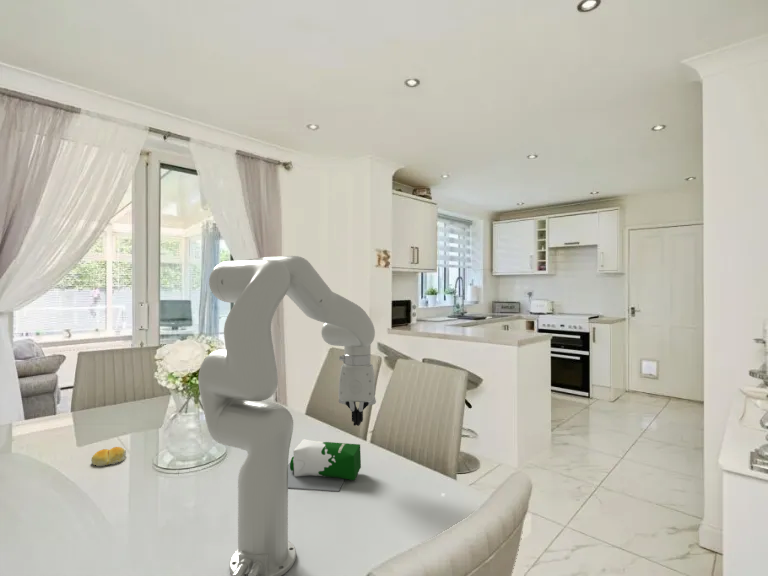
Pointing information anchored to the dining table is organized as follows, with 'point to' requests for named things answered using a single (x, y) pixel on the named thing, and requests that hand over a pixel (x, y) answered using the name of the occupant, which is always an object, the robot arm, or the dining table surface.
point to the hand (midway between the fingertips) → (357, 424)
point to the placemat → (313, 482)
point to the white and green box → (326, 459)
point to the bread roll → (108, 456)
